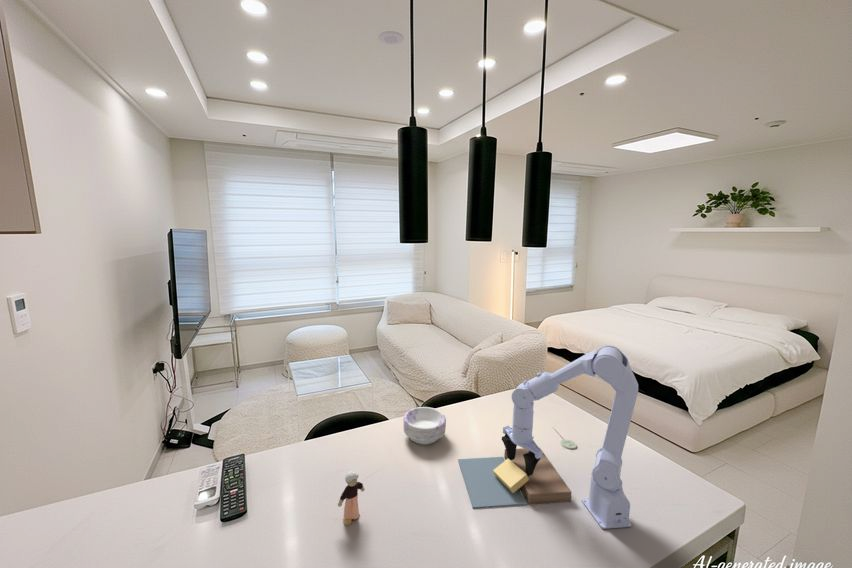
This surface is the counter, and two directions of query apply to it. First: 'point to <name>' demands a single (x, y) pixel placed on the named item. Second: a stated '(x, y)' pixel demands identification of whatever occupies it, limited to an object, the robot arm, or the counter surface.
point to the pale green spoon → (567, 443)
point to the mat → (487, 484)
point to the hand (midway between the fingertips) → (520, 466)
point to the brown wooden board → (542, 481)
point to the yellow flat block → (511, 475)
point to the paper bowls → (424, 424)
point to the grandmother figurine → (351, 497)
